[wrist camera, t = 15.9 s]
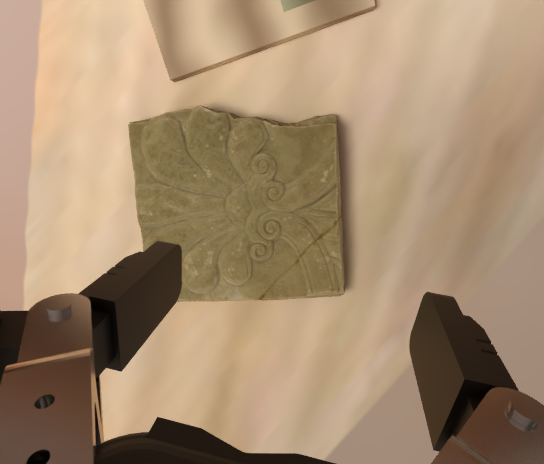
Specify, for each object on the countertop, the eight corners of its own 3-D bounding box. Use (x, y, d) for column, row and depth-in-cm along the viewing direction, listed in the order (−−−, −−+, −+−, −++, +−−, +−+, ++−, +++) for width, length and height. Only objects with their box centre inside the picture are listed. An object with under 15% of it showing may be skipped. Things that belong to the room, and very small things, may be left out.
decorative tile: (343, 288, 37) (347, 302, 33) (158, 292, 38) (144, 306, 35) (340, 100, 33) (345, 94, 29) (135, 115, 35) (117, 110, 31)
